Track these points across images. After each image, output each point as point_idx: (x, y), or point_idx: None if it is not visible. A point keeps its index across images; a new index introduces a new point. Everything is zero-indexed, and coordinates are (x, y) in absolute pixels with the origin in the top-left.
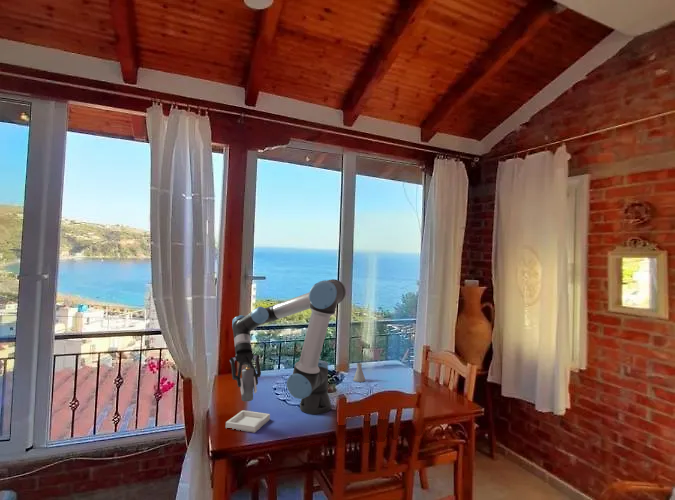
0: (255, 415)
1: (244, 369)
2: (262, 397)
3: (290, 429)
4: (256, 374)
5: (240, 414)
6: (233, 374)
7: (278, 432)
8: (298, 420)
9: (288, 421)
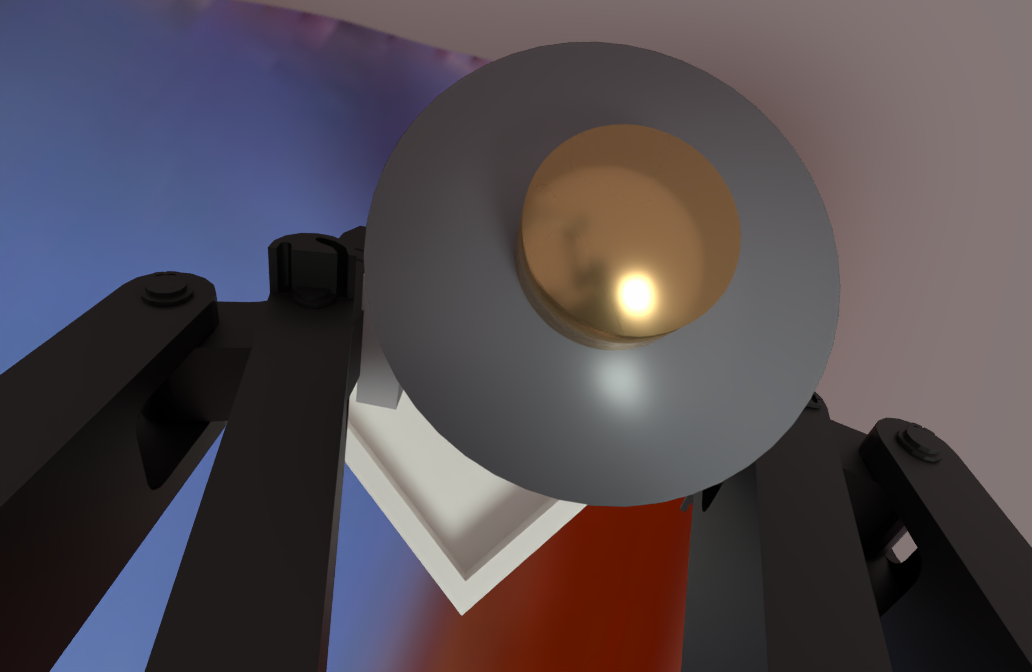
0: (383, 467)
1: (731, 326)
2: None
3: (249, 118)
4: (310, 244)
5: (507, 541)
6: (974, 491)
7: (352, 127)
8: (91, 221)
9: (175, 251)
